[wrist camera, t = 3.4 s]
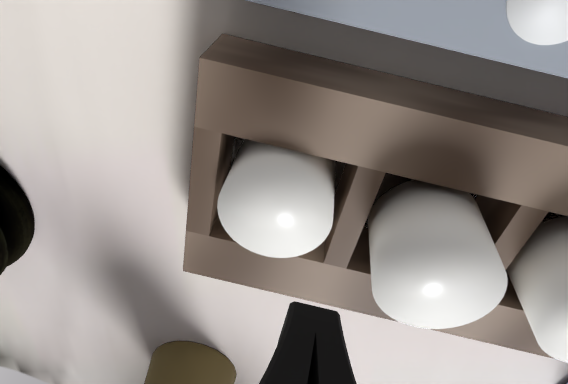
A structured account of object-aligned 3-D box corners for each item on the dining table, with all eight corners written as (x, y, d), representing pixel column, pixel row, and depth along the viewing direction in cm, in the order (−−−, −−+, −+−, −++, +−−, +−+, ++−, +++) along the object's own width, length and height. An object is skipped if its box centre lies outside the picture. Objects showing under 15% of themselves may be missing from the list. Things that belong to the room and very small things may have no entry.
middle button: (501, 193, 16) (534, 257, 13) (451, 272, 18) (470, 340, 16) (389, 166, 16) (397, 225, 13) (354, 249, 18) (355, 313, 15)
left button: (348, 135, 17) (347, 181, 14) (321, 215, 20) (317, 268, 17) (244, 110, 17) (224, 152, 14) (232, 194, 20) (212, 243, 17)
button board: (706, 150, 16) (771, 195, 13) (556, 313, 22) (582, 365, 19) (222, 33, 16) (199, 57, 13) (201, 229, 22) (182, 270, 19)
